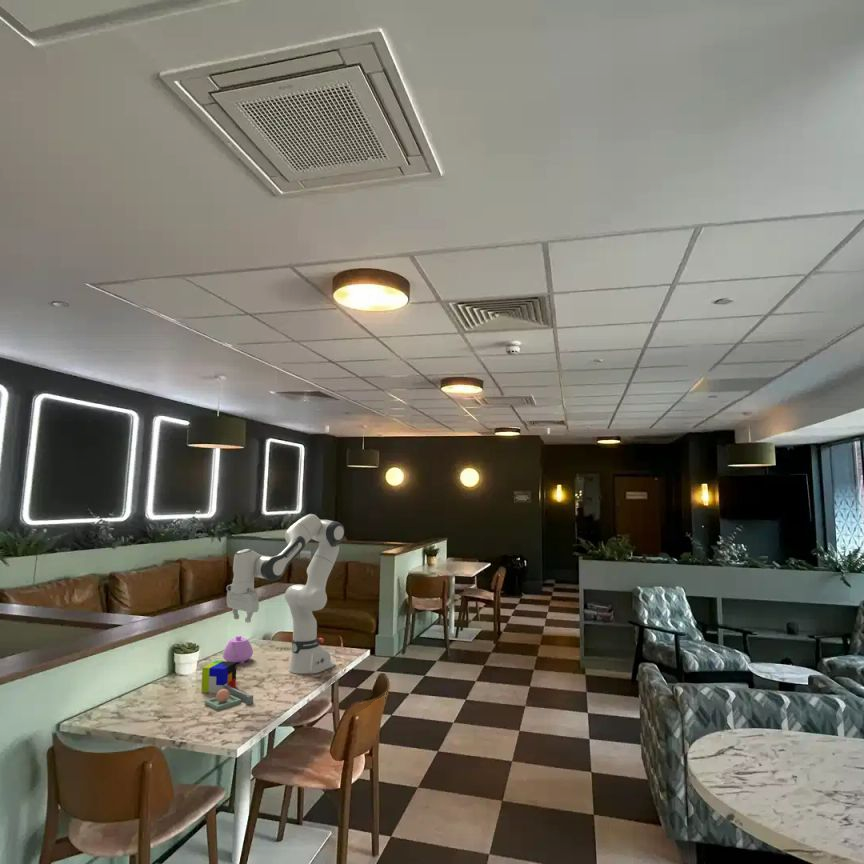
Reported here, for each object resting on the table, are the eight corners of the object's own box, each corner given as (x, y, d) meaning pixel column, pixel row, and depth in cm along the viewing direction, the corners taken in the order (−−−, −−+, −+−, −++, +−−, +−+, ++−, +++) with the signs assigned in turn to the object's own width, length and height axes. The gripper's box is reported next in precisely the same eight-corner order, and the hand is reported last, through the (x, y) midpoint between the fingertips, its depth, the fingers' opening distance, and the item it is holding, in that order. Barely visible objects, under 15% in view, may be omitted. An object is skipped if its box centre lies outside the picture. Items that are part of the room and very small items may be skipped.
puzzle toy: (222, 693, 235) (223, 668, 236) (201, 692, 237) (202, 667, 238) (235, 685, 245) (236, 662, 246) (215, 684, 247) (216, 660, 248)
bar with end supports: (228, 692, 236) (228, 685, 237) (253, 703, 224) (253, 695, 224) (223, 694, 235) (223, 686, 235) (247, 704, 222) (247, 697, 223)
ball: (225, 699, 227) (225, 686, 228) (231, 701, 224) (231, 688, 224) (213, 703, 223) (213, 689, 224) (220, 705, 220) (220, 692, 221)
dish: (228, 697, 230) (228, 693, 231) (241, 703, 224) (241, 699, 224) (204, 704, 223) (204, 700, 223) (217, 710, 216) (217, 706, 217)
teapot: (246, 667, 271) (247, 641, 272) (216, 668, 270) (217, 642, 271) (256, 655, 291) (257, 631, 292) (228, 656, 289) (229, 632, 291)
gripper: (263, 589, 238) (262, 622, 236) (237, 584, 251) (236, 616, 250) (249, 591, 233) (248, 625, 232) (224, 586, 247) (223, 618, 245)
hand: (242, 620), depth 241 cm, fingers open, 8 cm apart
